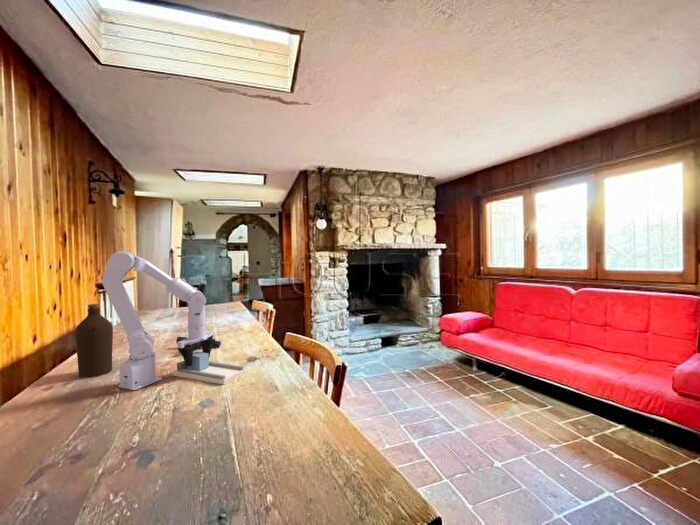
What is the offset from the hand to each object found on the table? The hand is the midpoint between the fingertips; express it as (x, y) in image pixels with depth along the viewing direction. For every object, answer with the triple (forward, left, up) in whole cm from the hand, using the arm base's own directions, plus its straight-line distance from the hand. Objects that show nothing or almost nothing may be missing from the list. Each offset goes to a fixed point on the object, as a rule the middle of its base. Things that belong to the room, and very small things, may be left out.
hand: (197, 362), depth 112 cm
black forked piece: (+19, +23, -4) cm, 30 cm away
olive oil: (-13, +35, -4) cm, 38 cm away
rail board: (0, -5, -4) cm, 6 cm away
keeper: (0, 0, -2) cm, 2 cm away
